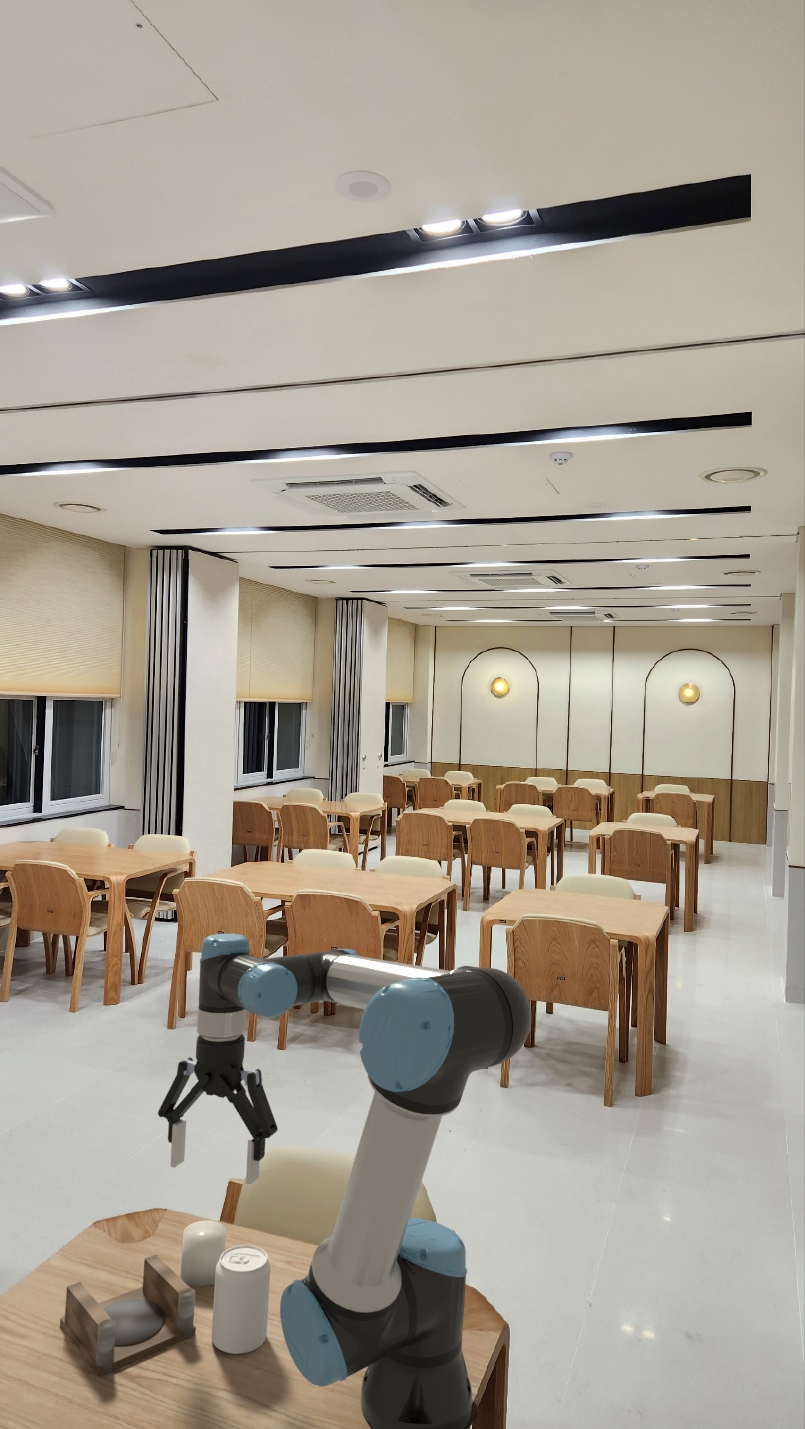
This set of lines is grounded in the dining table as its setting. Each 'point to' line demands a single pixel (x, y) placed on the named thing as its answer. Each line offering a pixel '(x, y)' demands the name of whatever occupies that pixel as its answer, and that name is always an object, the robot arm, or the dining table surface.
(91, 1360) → the wooden holder
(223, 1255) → the beverage can
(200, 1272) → the white pillar candle
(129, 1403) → the dining table surface
